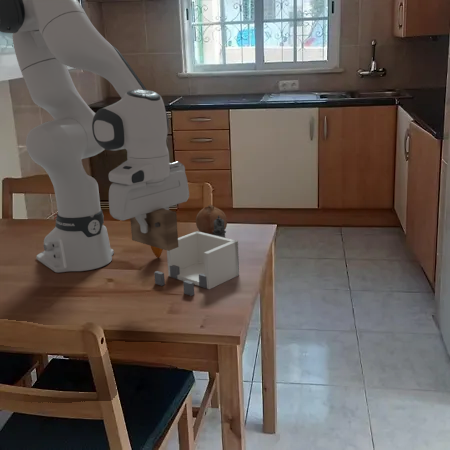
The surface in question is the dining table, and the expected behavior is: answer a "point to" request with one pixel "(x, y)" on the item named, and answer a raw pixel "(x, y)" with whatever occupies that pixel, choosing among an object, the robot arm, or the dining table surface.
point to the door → (157, 230)
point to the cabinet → (201, 261)
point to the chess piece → (219, 227)
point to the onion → (209, 219)
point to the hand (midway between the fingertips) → (153, 229)
